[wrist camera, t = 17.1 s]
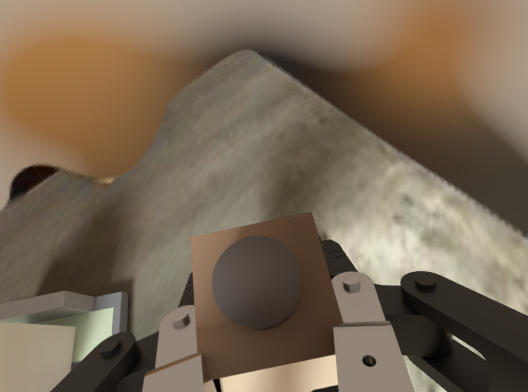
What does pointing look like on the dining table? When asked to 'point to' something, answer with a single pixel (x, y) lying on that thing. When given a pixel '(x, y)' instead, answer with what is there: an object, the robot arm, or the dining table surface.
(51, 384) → the orange-capped white pillar
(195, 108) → the dining table surface
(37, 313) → the panel
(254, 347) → the pepper mill
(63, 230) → the dining table surface
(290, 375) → the coaster
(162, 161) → the dining table surface
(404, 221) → the dining table surface
